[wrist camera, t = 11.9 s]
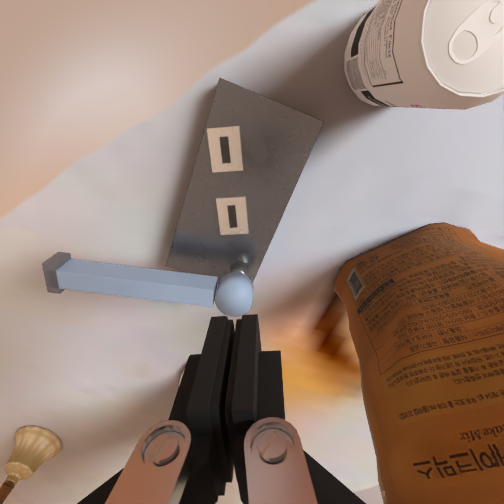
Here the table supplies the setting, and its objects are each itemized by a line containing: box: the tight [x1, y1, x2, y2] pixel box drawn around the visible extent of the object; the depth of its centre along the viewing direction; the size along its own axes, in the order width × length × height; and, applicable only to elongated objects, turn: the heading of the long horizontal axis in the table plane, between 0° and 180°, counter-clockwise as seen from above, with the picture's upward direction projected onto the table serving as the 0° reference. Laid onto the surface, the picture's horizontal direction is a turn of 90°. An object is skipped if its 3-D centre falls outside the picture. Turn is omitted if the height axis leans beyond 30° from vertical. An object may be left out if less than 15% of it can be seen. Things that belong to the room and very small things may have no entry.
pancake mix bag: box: [333, 223, 504, 504], centre depth 24 cm, size 7×19×28 cm, turn 120°
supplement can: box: [344, 0, 504, 110], centre depth 21 cm, size 8×8×15 cm
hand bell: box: [0, 426, 62, 504], centre depth 49 cm, size 8×8×16 cm
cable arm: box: [42, 252, 253, 317], centre depth 31 cm, size 20×4×2 cm, turn 83°
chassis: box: [166, 78, 324, 284], centre depth 32 cm, size 20×10×6 cm, turn 159°
